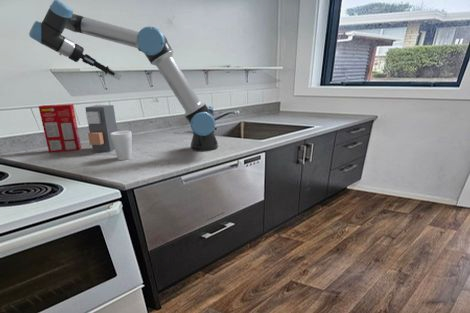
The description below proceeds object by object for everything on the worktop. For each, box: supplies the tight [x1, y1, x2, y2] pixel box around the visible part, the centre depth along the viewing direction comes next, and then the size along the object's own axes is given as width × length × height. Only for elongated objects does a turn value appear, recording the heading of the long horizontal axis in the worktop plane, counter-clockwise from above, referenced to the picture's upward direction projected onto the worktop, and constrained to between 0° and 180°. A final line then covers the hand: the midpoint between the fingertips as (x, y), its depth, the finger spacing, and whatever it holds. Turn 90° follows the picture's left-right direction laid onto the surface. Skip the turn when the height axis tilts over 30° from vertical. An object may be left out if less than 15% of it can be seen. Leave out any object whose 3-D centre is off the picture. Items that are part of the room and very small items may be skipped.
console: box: [84, 104, 118, 153], centre depth 147 cm, size 10×10×24 cm
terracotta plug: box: [87, 132, 104, 146], centre depth 145 cm, size 13×6×6 cm, turn 175°
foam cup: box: [110, 130, 133, 161], centre depth 131 cm, size 10×9×13 cm
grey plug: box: [85, 111, 102, 124], centre depth 144 cm, size 13×6×6 cm, turn 175°
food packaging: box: [38, 103, 82, 154], centre depth 147 cm, size 15×5×25 cm, turn 106°
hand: (119, 77), depth 138 cm, fingers closed
